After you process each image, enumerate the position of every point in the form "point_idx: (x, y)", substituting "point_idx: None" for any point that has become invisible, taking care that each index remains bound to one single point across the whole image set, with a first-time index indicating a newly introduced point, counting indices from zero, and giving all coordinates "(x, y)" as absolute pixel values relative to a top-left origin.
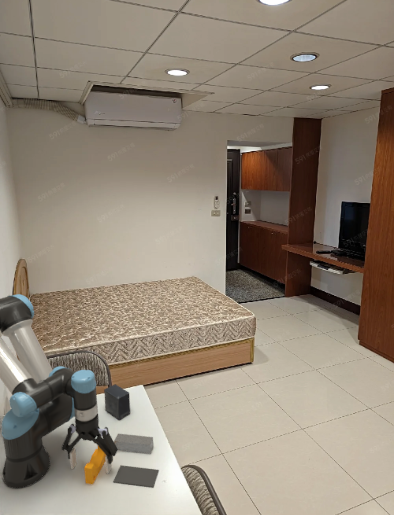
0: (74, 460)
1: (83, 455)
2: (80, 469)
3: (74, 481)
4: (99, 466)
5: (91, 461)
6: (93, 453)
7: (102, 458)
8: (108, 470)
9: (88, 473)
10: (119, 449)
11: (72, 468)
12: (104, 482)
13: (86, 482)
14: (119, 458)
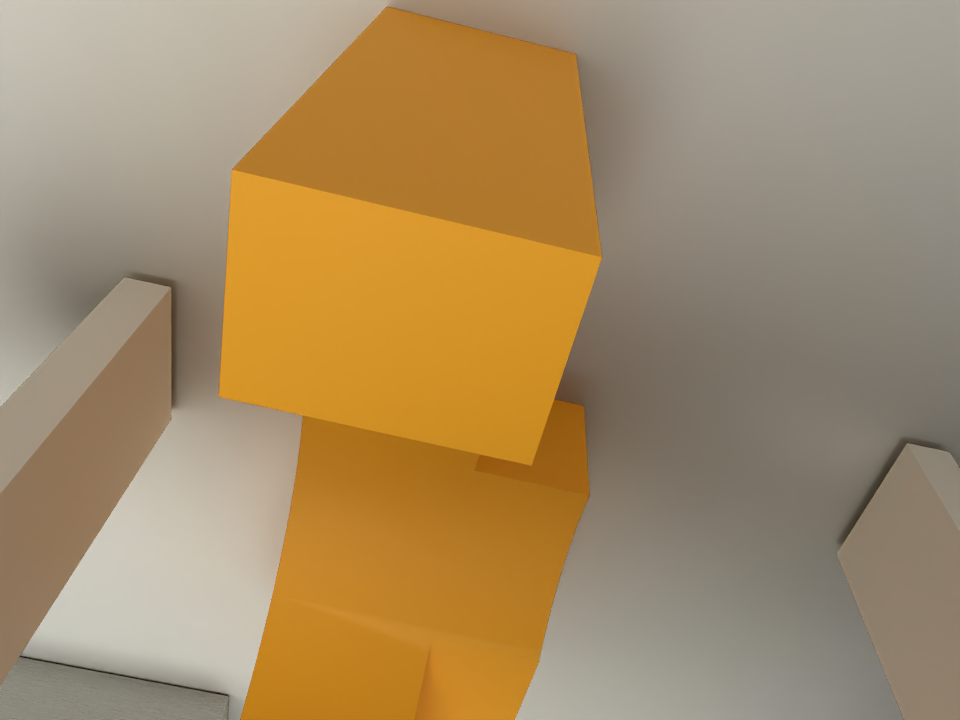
0: (919, 608)
1: (725, 669)
2: (749, 426)
3: (862, 139)
4: (304, 420)
5: (522, 550)
6: (512, 706)
7: (278, 588)
8: (95, 321)
9: (443, 122)
10: (136, 699)
11: (925, 455)
12: (121, 49)
13: (552, 56)
14: (80, 561)
